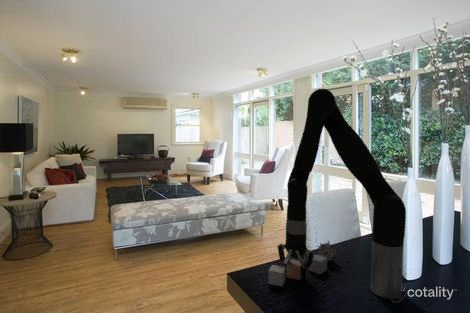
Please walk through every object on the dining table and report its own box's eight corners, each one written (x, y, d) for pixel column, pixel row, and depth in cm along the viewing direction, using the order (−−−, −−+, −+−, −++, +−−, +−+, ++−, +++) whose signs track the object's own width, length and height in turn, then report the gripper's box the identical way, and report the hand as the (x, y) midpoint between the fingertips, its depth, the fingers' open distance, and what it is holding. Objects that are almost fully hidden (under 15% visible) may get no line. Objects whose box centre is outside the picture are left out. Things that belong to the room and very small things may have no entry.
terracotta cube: (303, 274, 111) (304, 262, 111) (299, 280, 107) (299, 267, 106) (291, 271, 114) (291, 259, 113) (286, 276, 109) (286, 263, 109)
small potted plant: (322, 270, 122) (308, 252, 121) (326, 256, 129) (313, 239, 128) (341, 266, 117) (327, 246, 116) (344, 251, 124) (331, 233, 123)
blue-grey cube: (326, 270, 115) (327, 258, 114) (320, 274, 111) (320, 261, 111) (315, 266, 118) (315, 254, 118) (308, 270, 115) (309, 257, 115)
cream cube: (285, 280, 107) (285, 266, 107) (282, 286, 102) (282, 272, 102) (271, 277, 109) (272, 264, 108) (268, 284, 104) (268, 270, 104)
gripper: (318, 231, 108) (317, 275, 110) (281, 224, 116) (281, 266, 117) (312, 237, 102) (311, 283, 103) (274, 229, 109) (273, 273, 111)
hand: (295, 274), depth 110 cm, fingers open, 5 cm apart
